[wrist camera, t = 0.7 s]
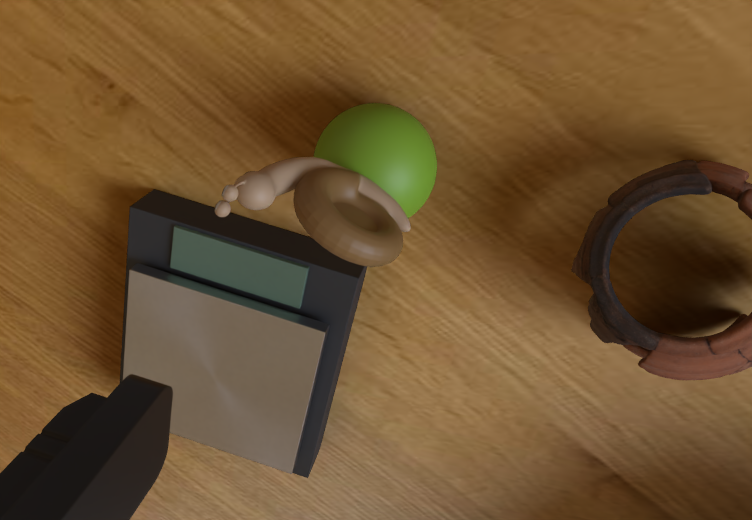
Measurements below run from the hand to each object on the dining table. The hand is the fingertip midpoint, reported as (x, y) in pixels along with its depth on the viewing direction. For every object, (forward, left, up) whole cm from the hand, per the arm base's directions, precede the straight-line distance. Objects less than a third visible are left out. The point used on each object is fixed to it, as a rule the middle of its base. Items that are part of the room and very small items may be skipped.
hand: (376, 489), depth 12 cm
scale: (+15, -9, -22) cm, 28 cm away
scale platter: (+15, -9, -19) cm, 26 cm away
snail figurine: (+2, -4, -22) cm, 23 cm away
